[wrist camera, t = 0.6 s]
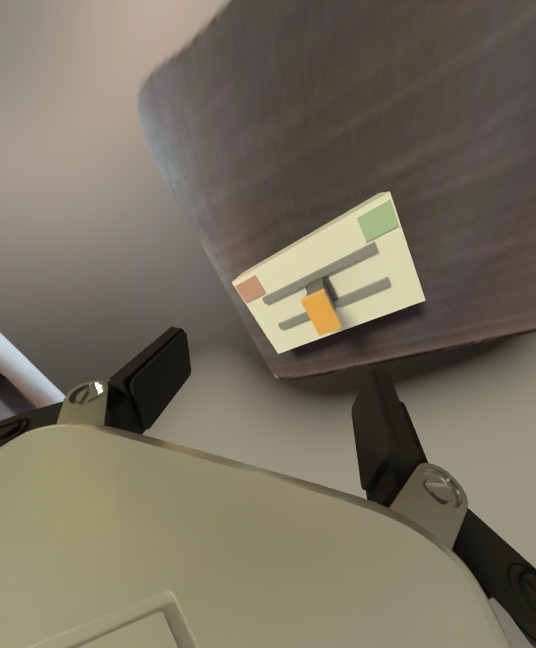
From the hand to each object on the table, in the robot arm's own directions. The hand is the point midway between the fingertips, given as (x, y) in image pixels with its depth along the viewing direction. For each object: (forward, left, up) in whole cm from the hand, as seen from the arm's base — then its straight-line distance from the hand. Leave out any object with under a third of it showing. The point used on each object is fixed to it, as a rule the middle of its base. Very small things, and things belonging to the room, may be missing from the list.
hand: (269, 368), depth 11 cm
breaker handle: (-1, +4, -21) cm, 21 cm away
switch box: (-1, +4, -26) cm, 26 cm away
